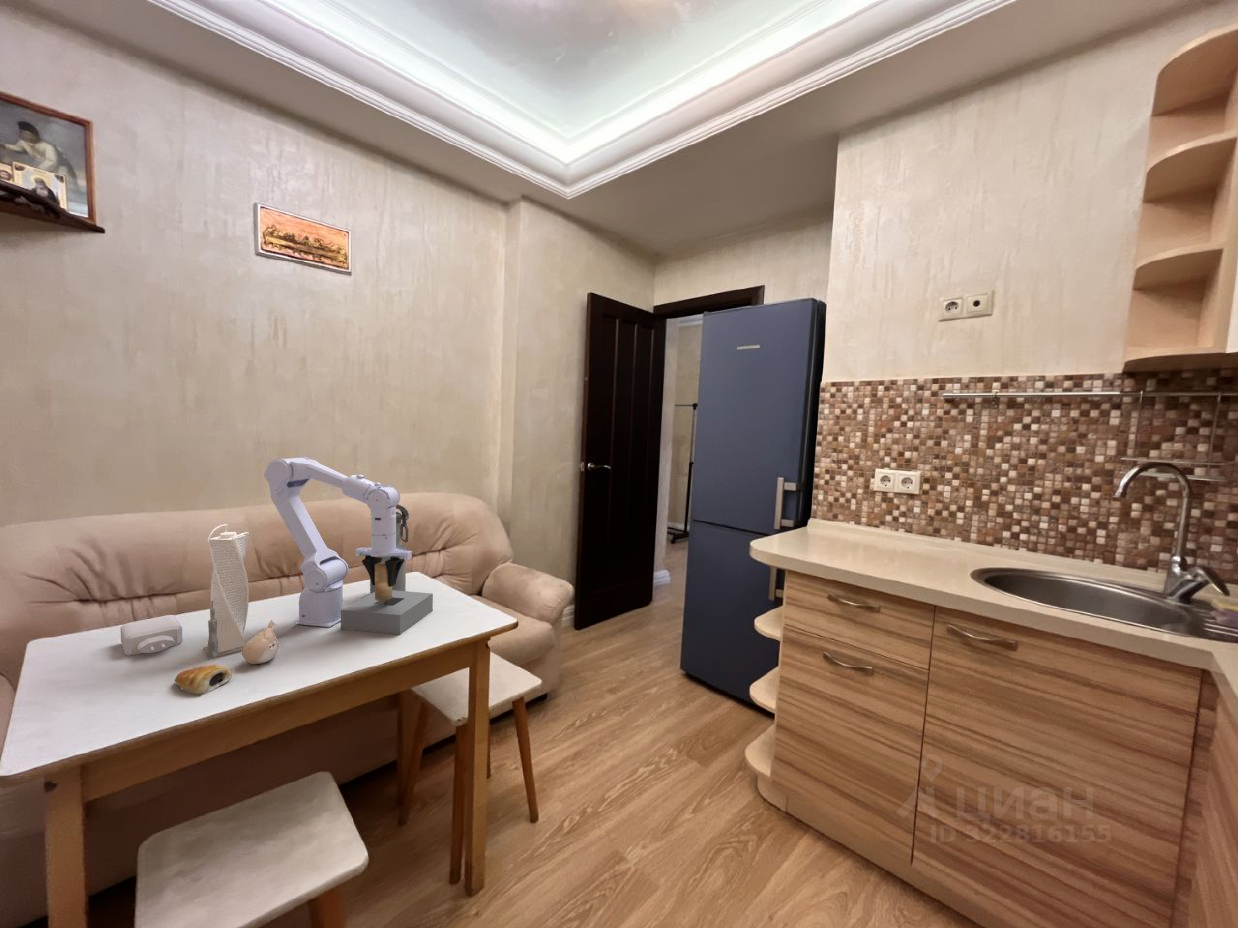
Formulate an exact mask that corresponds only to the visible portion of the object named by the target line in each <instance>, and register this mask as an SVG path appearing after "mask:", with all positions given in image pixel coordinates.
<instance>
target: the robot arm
mask: <svg viewBox="0 0 1238 928" xmlns="http://www.w3.org/2000/svg"><path fill="white" fill-rule="evenodd" d="M263 476H264V478H265V479H266V481H267V483H268V485H269V494H270V499H271V501H272V502H273V504H274V506H275V508H276V511H278V513H279V515H280V517H281V519H282V520H283V523H284V524H285V526H286V528H287V530H288V531H289V533H290V535H291V537H292V539H293V540H294V543H295V544H296V546H297V548H298V550H299V551H300V553H301V556H302V557H303V561H302V563H301V566H300V568H299V569H300V571H301V573H302V575H303V576H302V577H303V584H304V585H305V587H304V588H303V590H301V592H300V594H299V599H298V621H296V625H304V626H312V627H313V626H315V627H324V628H326V627H327V628H330V627H333V626H335V625H337V624H338V623H341V609H343V608H344V607H343V606H344V605H343V601H344V598H343V592H344V591H343V590H344V589H343V586H344V585H343V584H344V579H345V578H347V576H348V574H349V565H348V563H347V562H346V561H345V560H344V559H343V558H341V557H340V555H339V554H338V552H337V551H335V550H332V549H330V548H329V547H327V545H326V543H325V540H323V538H322V536H321V534H320V532H319V531H318V528H317V526H316V525H315V523H314V522H313V521H314V520H312V517H311V516H310V514H309V512H308V510H307V509H306V507H305V505H304V503H303V501H302V500H301V498H300V494H301V492H302V489H303V488H305V486H306V485H307V484H308V482H309V481H310V480H311V479H313V480H315V481H318V482H322V483H325V484H327V485H331V486H333V487H336V488H339V489H340V490H341V491H342V494H343V495H344V496H346V497H349V498H351V499H354V500H355V501H359V502H360V503H363V504H366V505H367V508H368V509H369V510H370V517H371V518H370V519H371V520H370V522H371V525H370V528H371V529H370V530H371V532H370V533H371V534H370V535H371V536H370V537H371V543H370V544H371V547H359V548H355V557H358V558H359V557H360V558H361V557H365V558H364V559H361V564H362V565H363V566H364V567H365V570H366V571H367V573H368V576H369V579H371V583H372V585H375V564H377V563H380V562H381V561H382V558H390V560H387V561H385V565H386V568H387V573H388V587H392V586H393V585H395V584H396V580H397V576H398V573H399V570H400V568H401V566H402V564H403V562H404V561H405V560H406V561H409V560H412V559H413V551H412V550H407V549H406V550H402V549H397V548H396V512H397V509H396V505H397V504H399V503H400V500H401V494H400V491H399V490H398V489H397V488H396V487H393V486H392V485H385V486H383V485H382V483H381V482H378V481H377V482H374V481H371V480H369V479H367V478H365V475H363V474H352V475H350V476H347V475H345V474H343V473H341V472H339V471H337V470H335V469H332V468H331V467H328V466H326V465H324V464H321V463H320V462H319V461H317V460H314V459H310V457H309V458H308V457H307V456H299V457H291V458H290V457H289V458H274V459H272V460H271V461H269V462H268V465H267V466H266V469H265V471H264V473H263Z"/></svg>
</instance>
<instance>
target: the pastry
mask: <svg viewBox="0 0 1238 928" xmlns="http://www.w3.org/2000/svg"><path fill="white" fill-rule="evenodd" d="M232 676H233V672H232V670H231V669H230V668H229V667H225V666H222V665H218V664H210V665H200V666H197V667H196V666H195V667H193V668H190V669H189V668H188V669H185V670H182V671H181V672H179V673H178V674H177V675H176V677H175V678H174V683H176V684H177V686H179V688H180V689H181V691H182V692H187V693H190V694H194V695H205V694H206V693H207V694H208V693H211V692H213V691H214V690H216V689H218V688H220V686H223V685H225V684H227V683H228V682H229V681H230V680H231V679H232V678H233V677H232Z"/></svg>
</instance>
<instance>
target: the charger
mask: <svg viewBox="0 0 1238 928" xmlns="http://www.w3.org/2000/svg"><path fill="white" fill-rule="evenodd" d="M183 641H184V640H183V627H182V625H181V623H180V622H179V620H178V618H177V616H176V615H173V614H167V615H161V616H158V617H157V616H156V617H152V618H147V619H142V620H136V621H130V622H127V623H124V624H123V625H121V626H120V643H121V646H122V650H123V652H124V655H125V656H127V657H129V656H130V657H131V656H137V655H141V654H144V653H146V654H147V653H148V654H151V653H156V652H161V651H164V650H166V649H167V648H171V647H174V646H177V645H179V644H181V643H182V642H183Z"/></svg>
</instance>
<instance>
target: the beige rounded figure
mask: <svg viewBox="0 0 1238 928" xmlns="http://www.w3.org/2000/svg"><path fill="white" fill-rule="evenodd" d="M276 625H277V624H276V623H275V622H274V621H273V620H272V619H271V620H270V621H269V623H268V625H267V627H266V628H264V629H262V631H260V632H258V633H256V634H255V636H254V637H252V638H251V639H249V640H248V641H247V642H246V644H245V645H244V647H243V650H242V652H241V655H242V658H243V659H244V660H245V661H246V662H247V663H249V664H251V665H258V664H264V663H266V662H269V661H271V660H272V659H273V658H274V657H275V655H277V653H278V650H279V647H280V646H279V640H278V638H277V637H276V634H275V632H274V630H273V628H274V626H276Z"/></svg>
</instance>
